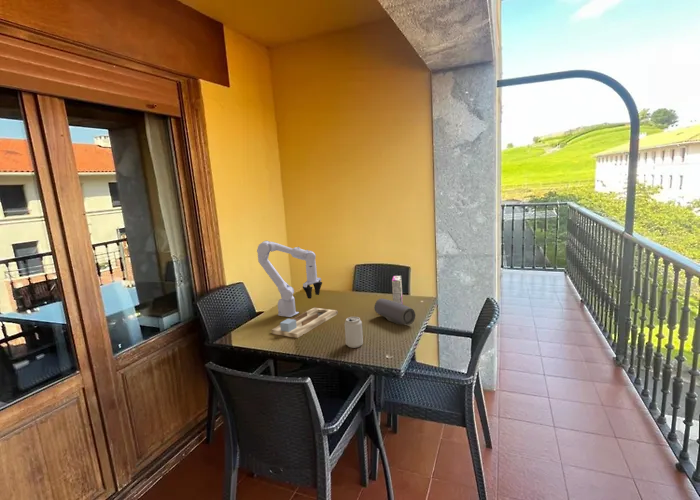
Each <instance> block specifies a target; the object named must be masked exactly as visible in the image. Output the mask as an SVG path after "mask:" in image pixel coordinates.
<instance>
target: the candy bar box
mask: <svg viewBox="0 0 700 500" xmlns="http://www.w3.org/2000/svg"><path fill="white" fill-rule="evenodd" d="M402 284H403V283H402V275H393V276H392V279H391V289H392V291H391V292H392V301H394V302H397V303H400V304H402V305H404V301H403V285H402Z"/></svg>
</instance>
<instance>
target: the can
mask: <svg viewBox="0 0 700 500" xmlns="http://www.w3.org/2000/svg"><path fill="white" fill-rule="evenodd" d="M344 333H345V335H344V336H345V345H346V346H347V347H349V348H351V349H352V348H353V349H354V348H355V349H356V348H360V347H361V346H363V344H364V339H363V338H364V337H363V321H362V320H361V317H358V316H350V317H347V318H345V321H344Z"/></svg>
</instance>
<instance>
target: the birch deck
mask: <svg viewBox="0 0 700 500" xmlns="http://www.w3.org/2000/svg"><path fill="white" fill-rule="evenodd" d="M305 312H307V316H306V317H304V318H302V319H300V320H298V321H297V322H296V325H297V328H295V329H293V330H292V331H290V332H286V331H281V327H280V324H279V325H278V326H274V328H272V329H271V330H270V331H271V334H272V335H277V336H278V335H279V336H283V337H284V336H285V337H290V338H295V339H299V338H300V337H301V336H303V334H304V335H305V334H307V333H308V332H310V331H312V330H313V329H315V328H317V327H318V326H320V325H322V324H323V323H325V322H327V321H329V320H331V318H333V317H335V316H337V315H338V312H339V311H338V310H337V309H329V308H328V309H327V308H320V307H313V308H311V309H308V310H306V311H305ZM303 313H304V312H302V313H300V314H299V315H301V314H303ZM316 313H317V314H318V318H316V319H314V320H313V321H311V322H309V323H307V324H305V325H304V326H302V321H303V320H305V319H307V318H309V317H311V316H313V315H314V314H316Z"/></svg>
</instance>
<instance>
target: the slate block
mask: <svg viewBox="0 0 700 500" xmlns="http://www.w3.org/2000/svg"><path fill="white" fill-rule="evenodd" d="M279 325H280V327H281V331H286V332H290V331H292V330H293V329H295V328H297V325H296V320H294V319H293V318H286V319H284V320H282V321H281V322H280V323H279Z"/></svg>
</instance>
